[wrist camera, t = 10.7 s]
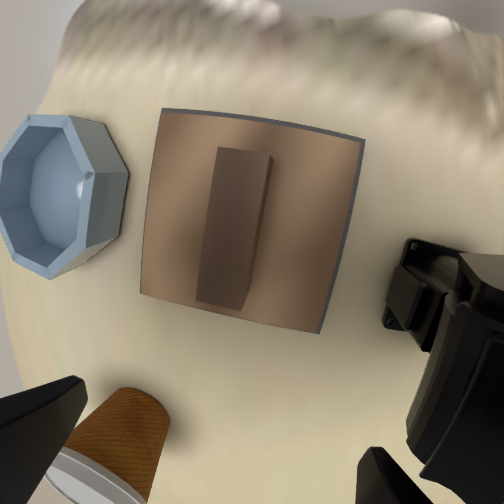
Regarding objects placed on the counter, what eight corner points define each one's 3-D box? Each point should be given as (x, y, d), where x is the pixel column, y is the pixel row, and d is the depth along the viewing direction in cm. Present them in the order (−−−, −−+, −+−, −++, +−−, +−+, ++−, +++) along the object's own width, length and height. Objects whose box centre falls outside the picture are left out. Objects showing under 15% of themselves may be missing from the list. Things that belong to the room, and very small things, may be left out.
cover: (357, 144, 16) (374, 135, 13) (315, 326, 19) (319, 359, 16) (167, 115, 17) (139, 102, 13) (146, 288, 20) (119, 311, 17)
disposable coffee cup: (84, 378, 25) (16, 451, 13) (152, 366, 23) (80, 469, 11) (132, 443, 26) (88, 519, 15) (203, 440, 25) (167, 539, 13)
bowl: (142, 128, 18) (107, 117, 14) (117, 275, 21) (83, 295, 17) (43, 119, 19) (6, 114, 15) (27, 239, 22) (-7, 250, 18)
